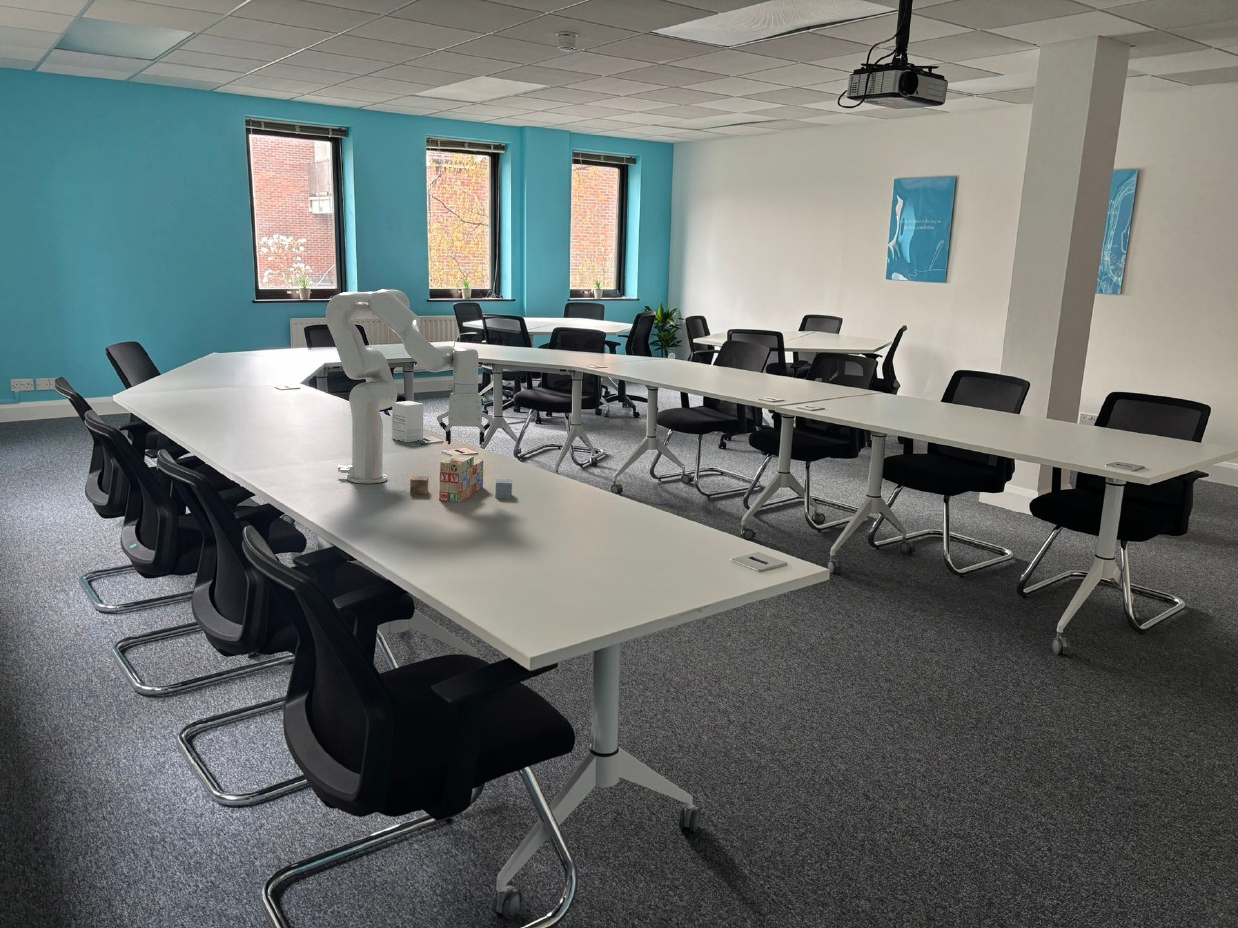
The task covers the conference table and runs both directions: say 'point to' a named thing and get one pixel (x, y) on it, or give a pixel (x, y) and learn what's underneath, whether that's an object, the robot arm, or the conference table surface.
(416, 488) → the walnut cube
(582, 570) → the conference table surface
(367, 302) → the robot arm
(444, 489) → the stack of blocks
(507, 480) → the slate cube
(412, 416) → the supplement box
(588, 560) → the conference table surface
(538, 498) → the conference table surface
